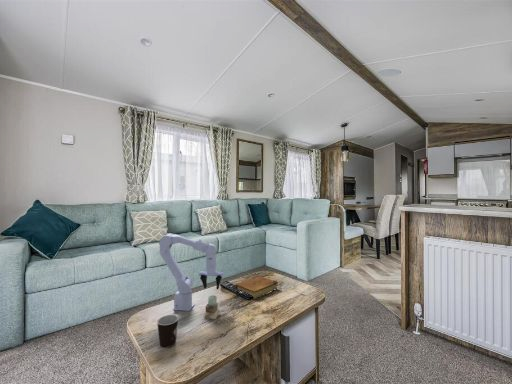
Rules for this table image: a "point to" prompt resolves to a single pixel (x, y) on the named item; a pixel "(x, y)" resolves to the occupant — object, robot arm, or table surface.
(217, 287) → the robot arm
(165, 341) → the coffee mug
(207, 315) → the oak base block
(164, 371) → the table surface
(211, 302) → the pale green short cylinder
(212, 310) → the walnut top block
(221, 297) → the table surface
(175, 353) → the table surface
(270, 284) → the diary
